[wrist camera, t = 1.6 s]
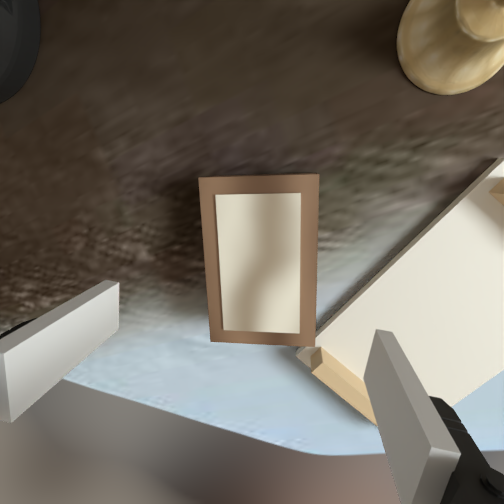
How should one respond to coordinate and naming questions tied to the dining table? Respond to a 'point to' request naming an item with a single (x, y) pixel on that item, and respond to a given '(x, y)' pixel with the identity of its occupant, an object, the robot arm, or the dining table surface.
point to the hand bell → (451, 43)
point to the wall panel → (429, 305)
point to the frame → (261, 257)
